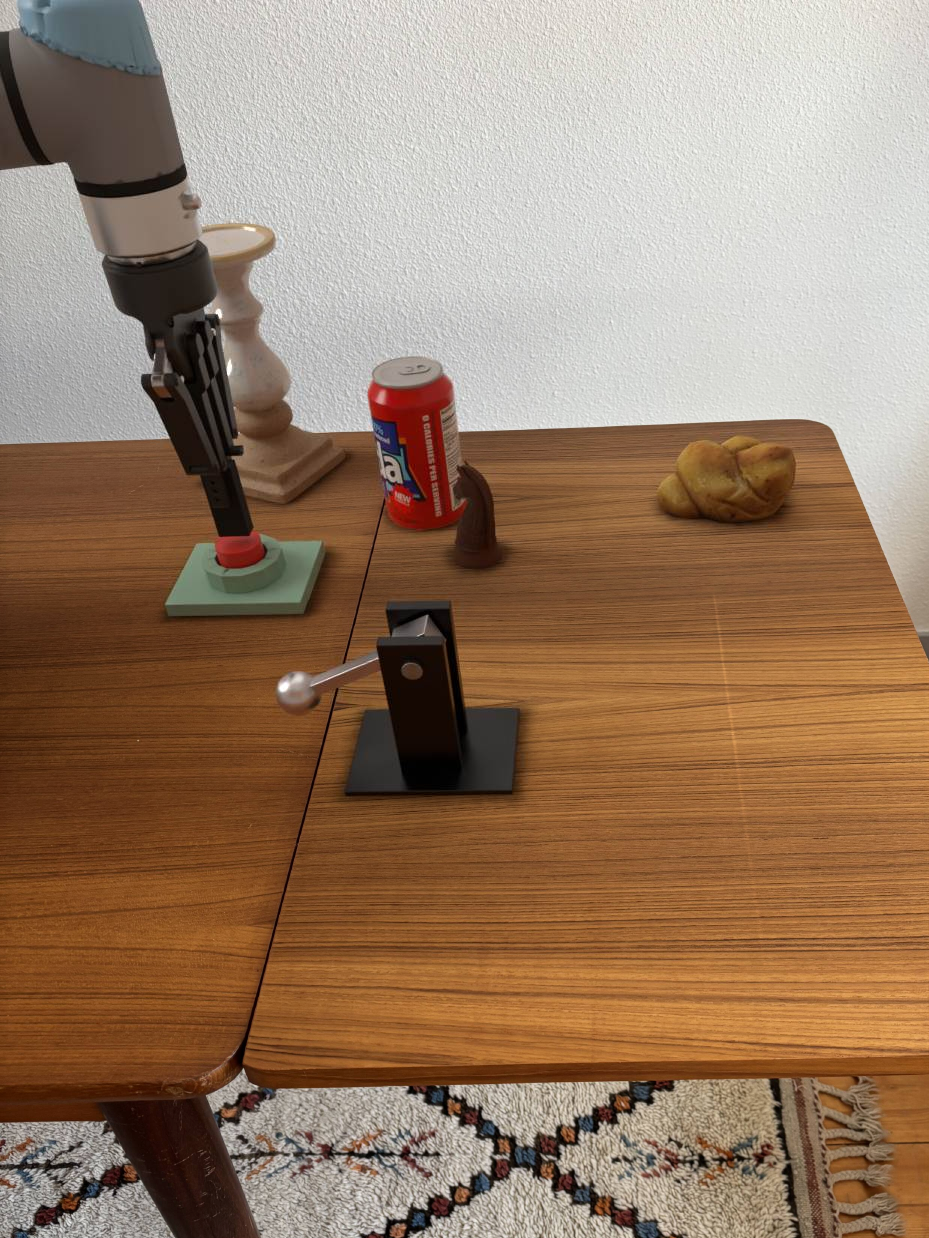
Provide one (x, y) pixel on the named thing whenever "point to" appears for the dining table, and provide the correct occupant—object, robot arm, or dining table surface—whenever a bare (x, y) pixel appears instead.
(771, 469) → the bread roll
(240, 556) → the button
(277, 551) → the button block
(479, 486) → the chess piece
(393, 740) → the lever stand
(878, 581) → the dining table surface
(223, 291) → the candle holder
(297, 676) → the silver lever handle
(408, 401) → the soda can
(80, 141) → the robot arm
